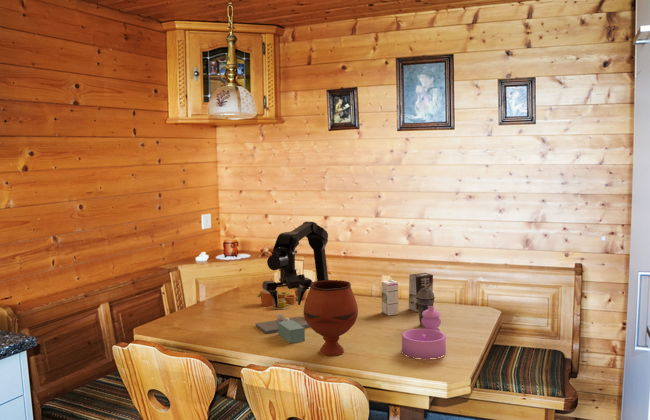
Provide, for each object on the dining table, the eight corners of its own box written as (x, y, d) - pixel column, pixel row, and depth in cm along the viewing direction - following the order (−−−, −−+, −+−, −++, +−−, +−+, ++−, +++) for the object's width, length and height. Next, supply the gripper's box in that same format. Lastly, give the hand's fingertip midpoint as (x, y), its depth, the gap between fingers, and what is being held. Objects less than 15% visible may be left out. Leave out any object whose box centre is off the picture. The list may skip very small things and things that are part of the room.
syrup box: (399, 314, 253) (399, 281, 252) (387, 315, 251) (387, 283, 250) (392, 311, 258) (392, 279, 257) (381, 312, 256) (381, 280, 255)
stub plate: (299, 319, 247) (299, 309, 247) (311, 326, 236) (311, 316, 236) (255, 326, 238) (255, 316, 238) (265, 333, 227) (265, 323, 227)
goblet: (294, 350, 208) (293, 282, 206) (337, 340, 219) (336, 275, 216) (324, 365, 192) (323, 292, 190) (369, 353, 203) (368, 284, 201)
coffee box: (416, 312, 256) (417, 276, 254) (408, 309, 262) (408, 274, 260) (433, 309, 260) (433, 274, 259) (424, 306, 266) (424, 272, 264)
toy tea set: (281, 311, 260) (281, 290, 259) (254, 307, 268) (253, 287, 267) (312, 299, 283) (311, 279, 282) (286, 295, 291) (285, 276, 290)
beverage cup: (436, 323, 238) (436, 276, 236) (432, 328, 232) (432, 280, 230) (419, 321, 241) (419, 275, 239) (414, 326, 235) (414, 278, 233)
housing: (292, 332, 229) (291, 320, 229) (304, 340, 218) (304, 327, 218) (278, 334, 226) (277, 322, 226) (290, 343, 216) (290, 330, 215)
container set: (441, 362, 195) (441, 324, 193) (397, 357, 200) (397, 320, 199) (453, 340, 218) (453, 306, 216) (413, 335, 223) (413, 302, 222)
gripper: (271, 271, 210) (271, 313, 211) (318, 267, 217) (318, 308, 218) (261, 266, 220) (262, 306, 221) (307, 263, 227) (307, 302, 228)
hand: (287, 306), depth 222 cm, fingers open, 9 cm apart
